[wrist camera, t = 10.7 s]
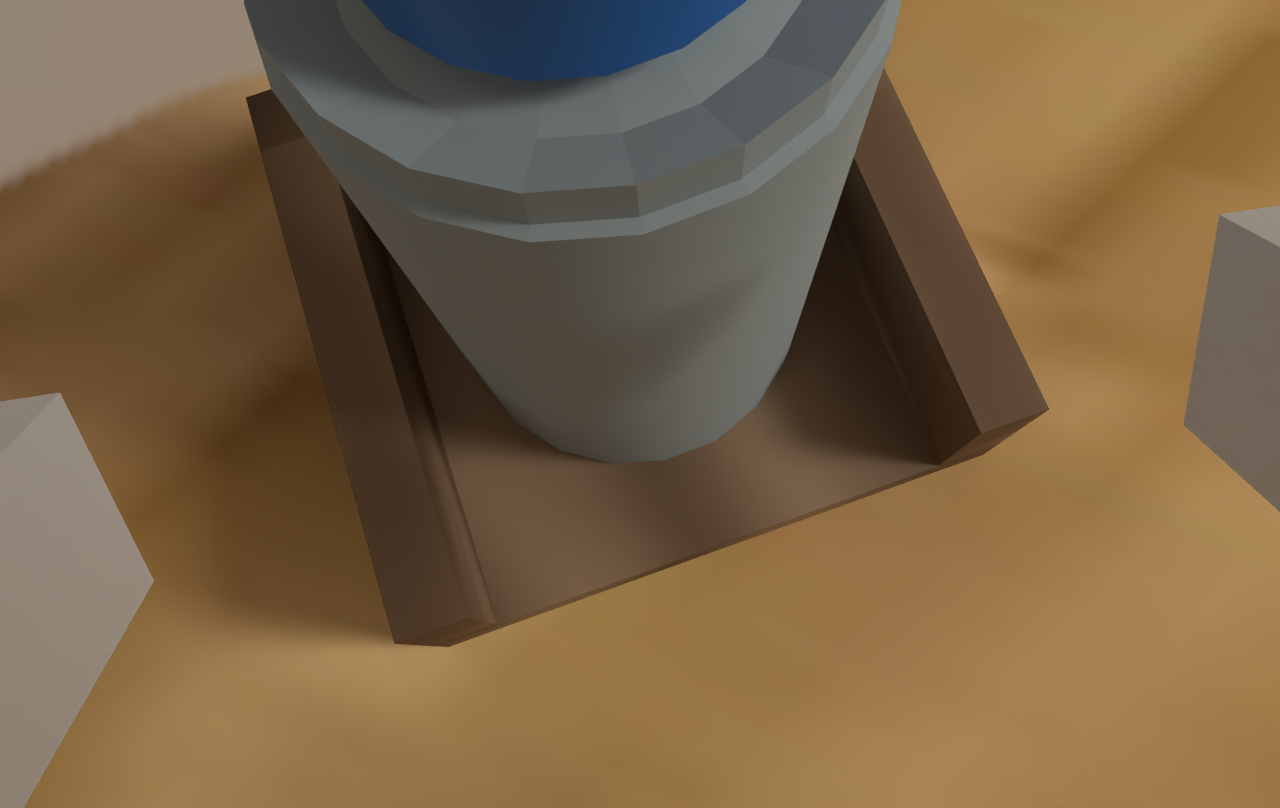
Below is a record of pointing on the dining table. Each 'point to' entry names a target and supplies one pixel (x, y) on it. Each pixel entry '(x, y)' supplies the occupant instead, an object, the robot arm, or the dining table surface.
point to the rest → (651, 490)
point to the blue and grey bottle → (594, 186)
